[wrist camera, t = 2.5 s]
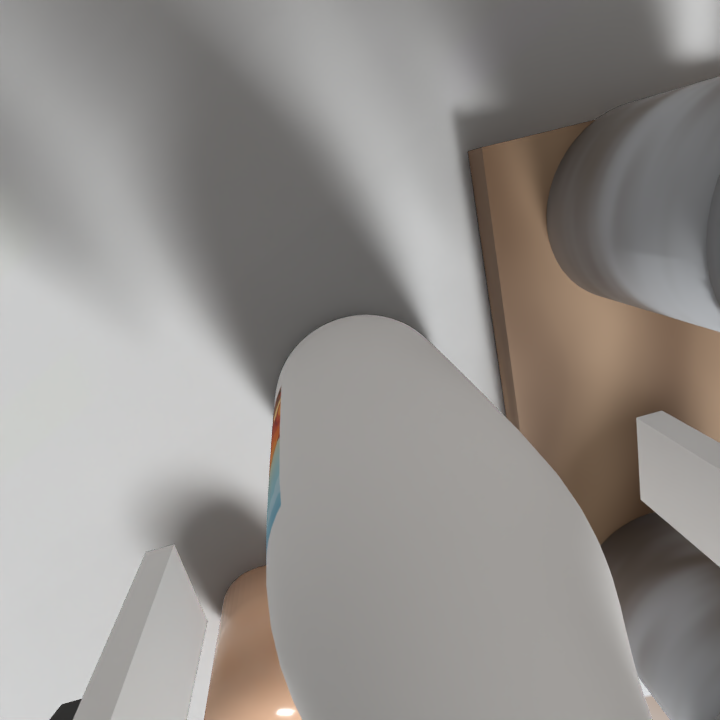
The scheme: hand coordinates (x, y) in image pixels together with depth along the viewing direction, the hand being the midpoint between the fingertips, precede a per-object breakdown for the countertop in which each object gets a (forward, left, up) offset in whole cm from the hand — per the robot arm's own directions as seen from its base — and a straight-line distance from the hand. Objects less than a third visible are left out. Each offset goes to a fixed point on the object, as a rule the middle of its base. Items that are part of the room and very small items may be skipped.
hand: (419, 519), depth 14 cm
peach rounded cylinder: (-7, -10, -9) cm, 15 cm away
